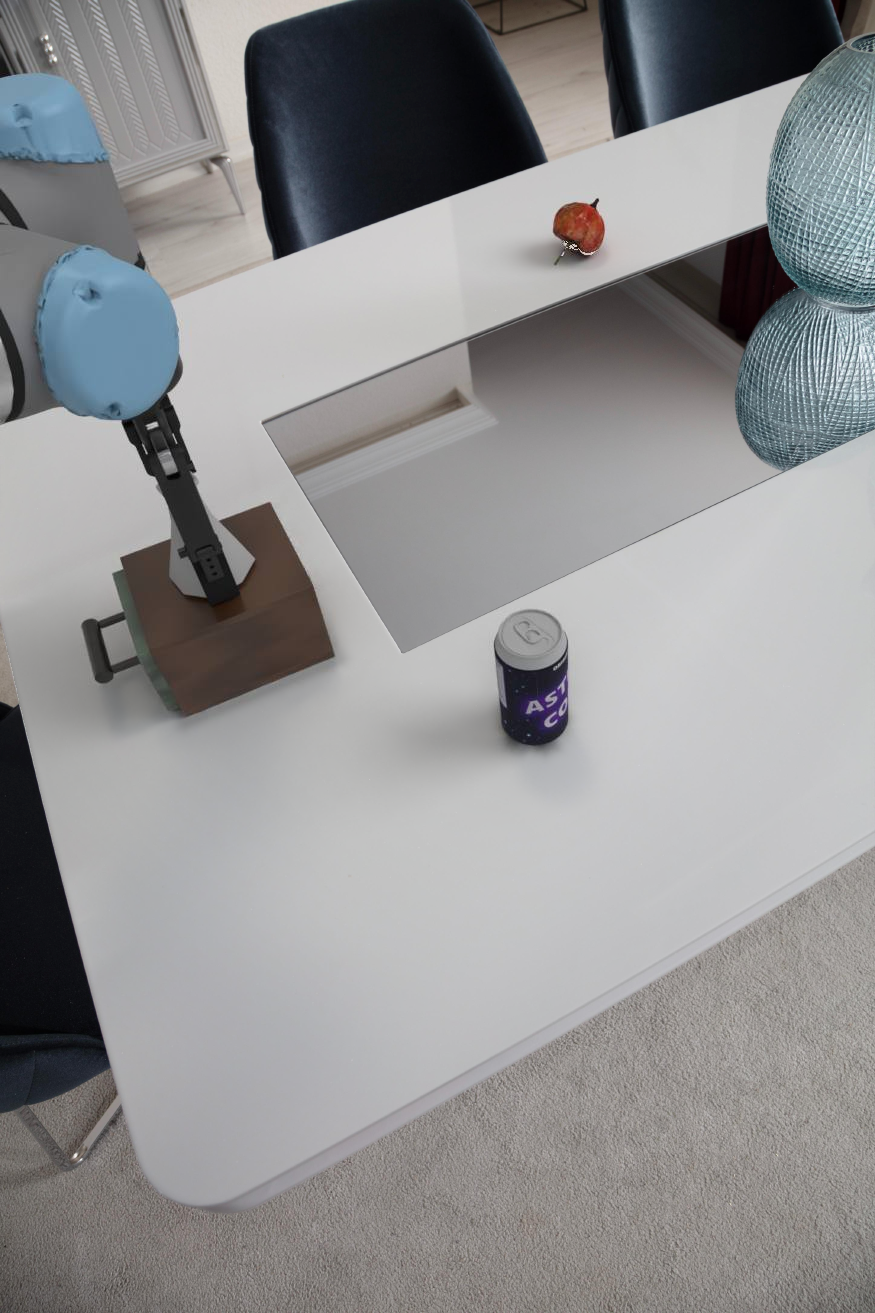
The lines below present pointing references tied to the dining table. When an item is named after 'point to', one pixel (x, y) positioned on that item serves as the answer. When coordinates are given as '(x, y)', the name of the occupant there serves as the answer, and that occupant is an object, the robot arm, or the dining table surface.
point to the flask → (183, 568)
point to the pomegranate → (579, 227)
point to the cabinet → (230, 617)
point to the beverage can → (532, 676)
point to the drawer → (100, 655)
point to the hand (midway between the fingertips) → (212, 568)
